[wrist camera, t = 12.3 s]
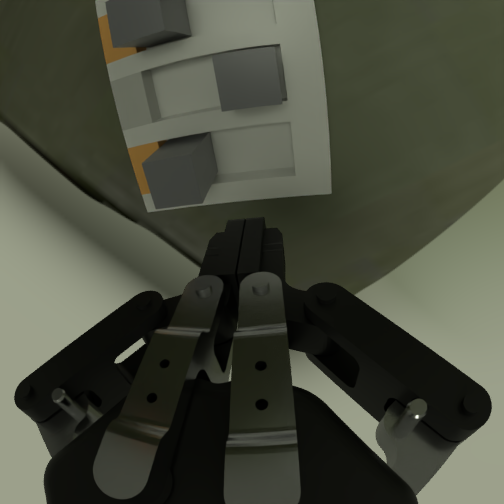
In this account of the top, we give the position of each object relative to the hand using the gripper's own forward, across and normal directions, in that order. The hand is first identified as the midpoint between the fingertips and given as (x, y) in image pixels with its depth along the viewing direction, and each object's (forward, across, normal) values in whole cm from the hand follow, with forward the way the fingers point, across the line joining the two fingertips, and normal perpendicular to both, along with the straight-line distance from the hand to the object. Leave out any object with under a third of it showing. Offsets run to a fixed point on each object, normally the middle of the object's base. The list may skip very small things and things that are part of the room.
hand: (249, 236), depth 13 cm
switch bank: (+15, +3, -6) cm, 16 cm away
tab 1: (+13, +6, -12) cm, 19 cm away
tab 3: (+13, 0, -6) cm, 15 cm away
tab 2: (+13, +6, 0) cm, 15 cm away
